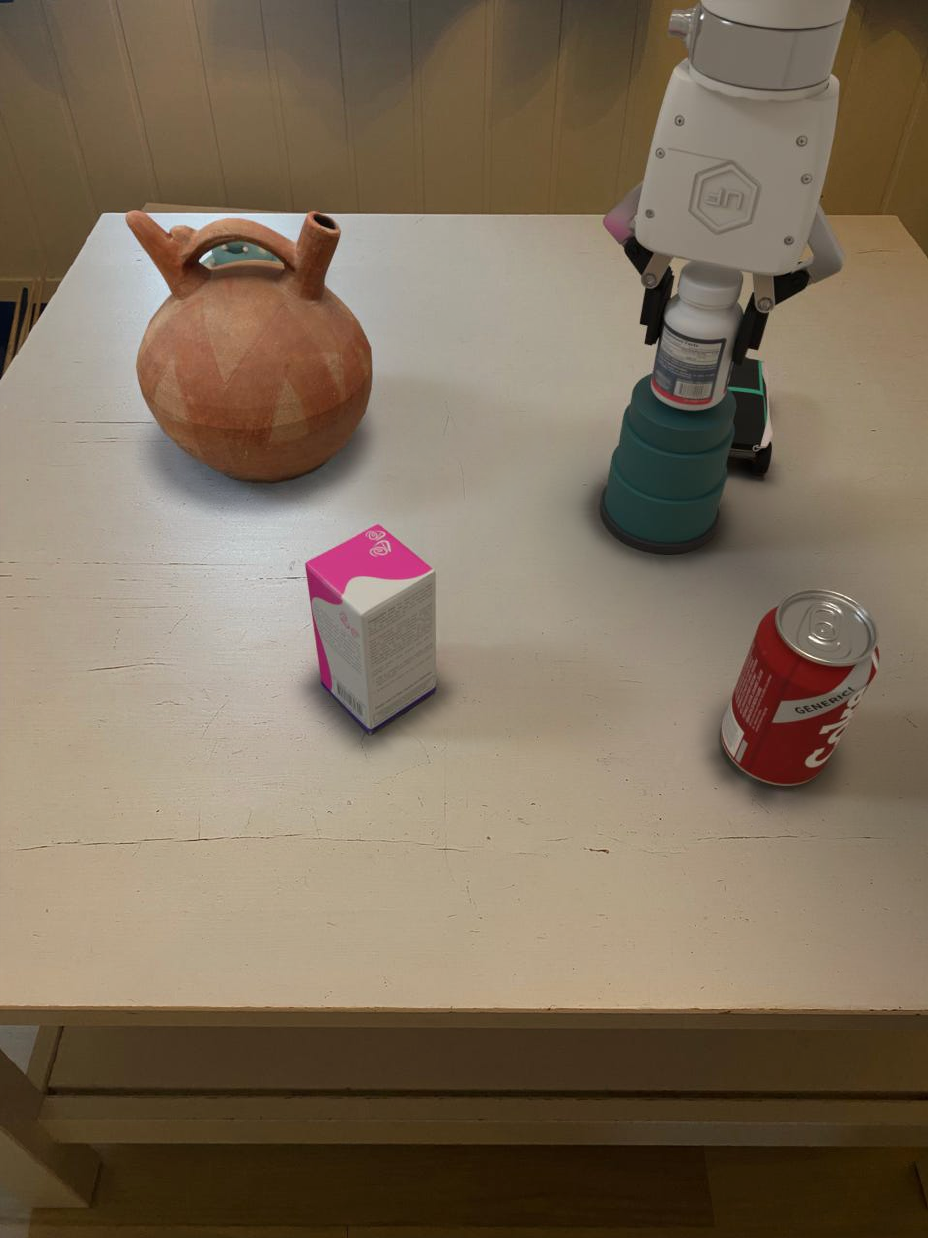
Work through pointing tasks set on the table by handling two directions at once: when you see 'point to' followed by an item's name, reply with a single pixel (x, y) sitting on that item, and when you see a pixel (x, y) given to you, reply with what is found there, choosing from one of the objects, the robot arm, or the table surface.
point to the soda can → (800, 686)
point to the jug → (252, 349)
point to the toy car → (751, 414)
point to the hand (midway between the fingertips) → (697, 342)
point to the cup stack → (667, 473)
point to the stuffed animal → (237, 254)
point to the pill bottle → (698, 337)
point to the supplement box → (374, 626)
